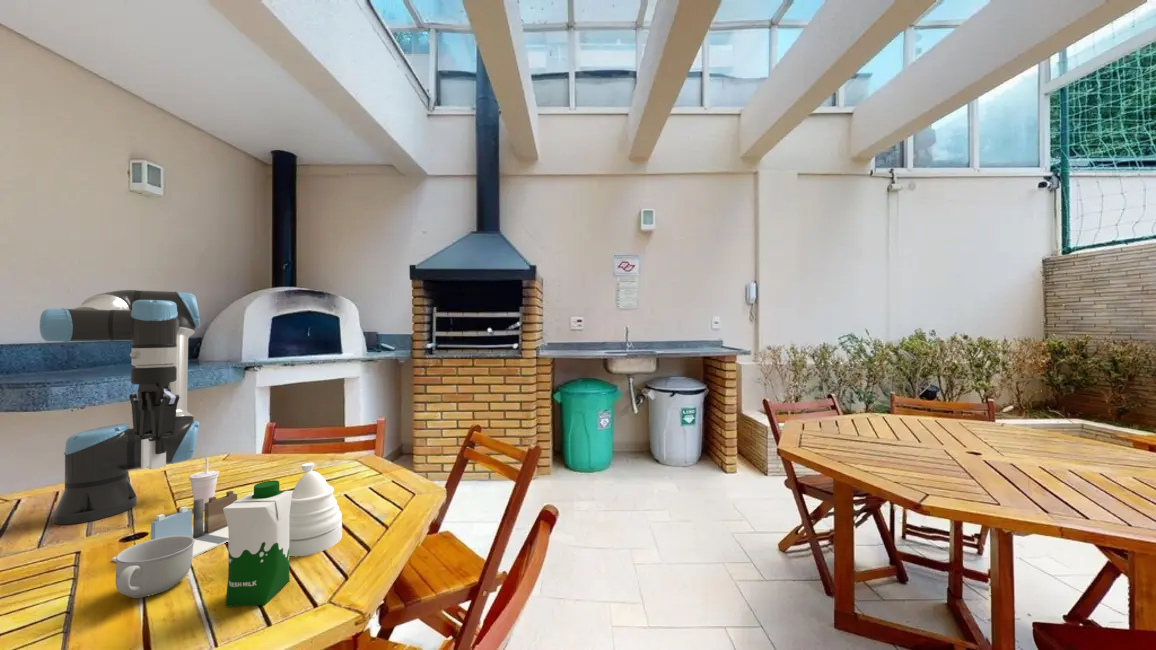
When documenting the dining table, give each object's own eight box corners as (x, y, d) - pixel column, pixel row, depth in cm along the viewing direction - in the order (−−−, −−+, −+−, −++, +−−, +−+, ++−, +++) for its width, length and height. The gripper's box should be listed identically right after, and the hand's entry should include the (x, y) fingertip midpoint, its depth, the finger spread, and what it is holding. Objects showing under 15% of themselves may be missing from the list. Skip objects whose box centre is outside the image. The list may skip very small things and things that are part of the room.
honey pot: (269, 544, 98) (270, 467, 98) (330, 524, 108) (330, 454, 108) (287, 563, 89) (287, 479, 90) (351, 540, 99) (351, 464, 100)
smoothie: (224, 505, 120) (224, 456, 121) (198, 514, 114) (198, 463, 115) (209, 502, 123) (210, 454, 123) (183, 511, 116) (183, 460, 117)
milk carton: (297, 579, 84) (297, 479, 84) (265, 609, 75) (266, 496, 75) (251, 580, 83) (252, 480, 84) (214, 611, 74) (215, 498, 75)
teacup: (152, 573, 86) (152, 534, 86) (208, 570, 87) (208, 531, 87) (77, 619, 72) (77, 573, 72) (145, 615, 73) (145, 569, 73)
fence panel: (150, 553, 92) (151, 517, 93) (187, 538, 99) (188, 504, 99) (154, 554, 92) (155, 518, 92) (192, 539, 99) (192, 505, 99)
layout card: (112, 560, 91) (112, 557, 91) (219, 519, 111) (219, 516, 111) (161, 572, 87) (161, 569, 87) (263, 526, 107) (264, 524, 107)
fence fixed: (191, 537, 100) (191, 501, 100) (232, 520, 109) (232, 487, 109) (196, 538, 100) (196, 502, 100) (237, 521, 108) (237, 488, 108)
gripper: (111, 366, 96) (110, 469, 96) (156, 367, 92) (155, 475, 92) (152, 364, 104) (151, 459, 103) (195, 365, 99) (195, 464, 99)
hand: (153, 466), depth 97 cm, fingers open, 2 cm apart
